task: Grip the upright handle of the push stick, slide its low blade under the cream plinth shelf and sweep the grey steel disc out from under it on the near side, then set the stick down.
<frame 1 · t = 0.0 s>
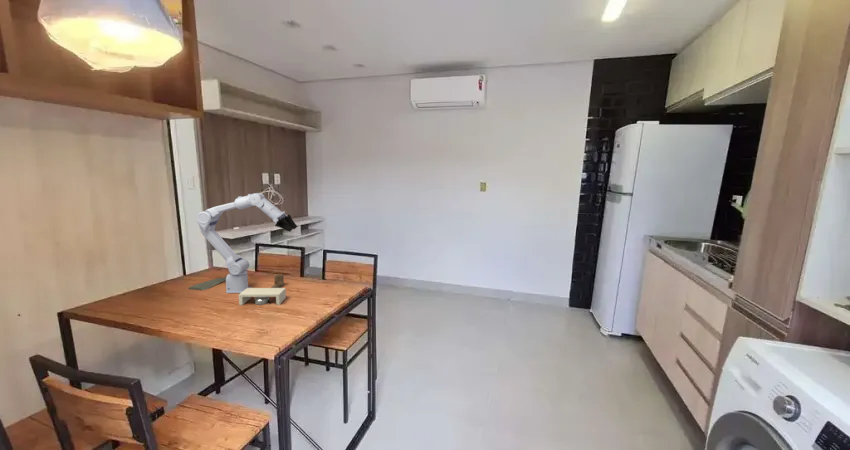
hand: (293, 229, 174), 32 cm above the table, tool tilted 50°, fingers open, 7 cm apart
plinth shelf: (263, 301, 164), on the table
stone slab: (212, 284, 188), on the table
steel token: (262, 302, 162), on the table
push stick: (279, 286, 185), on the table
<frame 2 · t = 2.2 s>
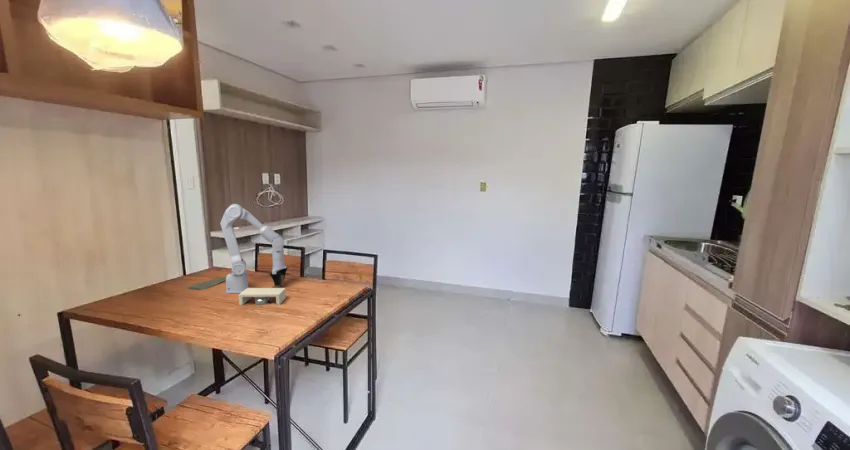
hand: (279, 283, 185), 2 cm above the table, tool pointing down, fingers open, 7 cm apart
push stick: (279, 286, 185), on the table, touching gripper
everything else where it was.
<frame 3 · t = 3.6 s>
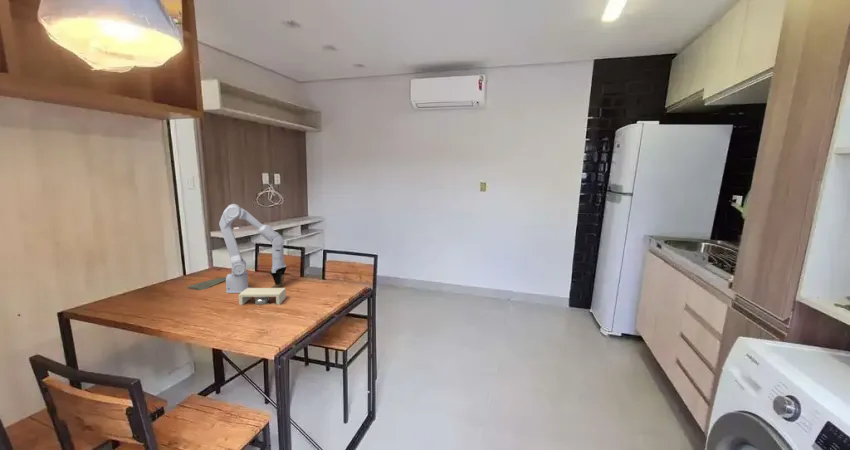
hand: (279, 282, 185), 2 cm above the table, tool pointing down, fingers open, 5 cm apart
nothing on the table moved.
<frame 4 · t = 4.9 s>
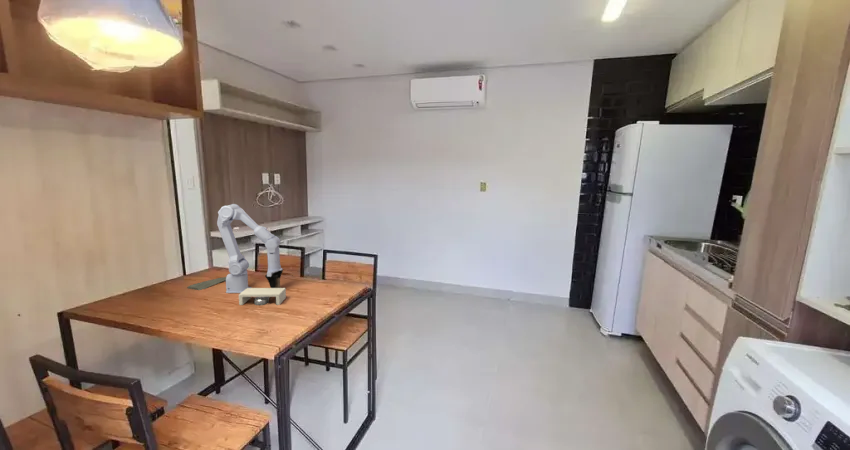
hand: (274, 285, 179), 2 cm above the table, tool pointing down, fingers open, 5 cm apart
steel token: (261, 303, 162), on the table, touching push stick
push stick: (275, 289, 180), on the table, touching gripper, steel token
everything else where it was.
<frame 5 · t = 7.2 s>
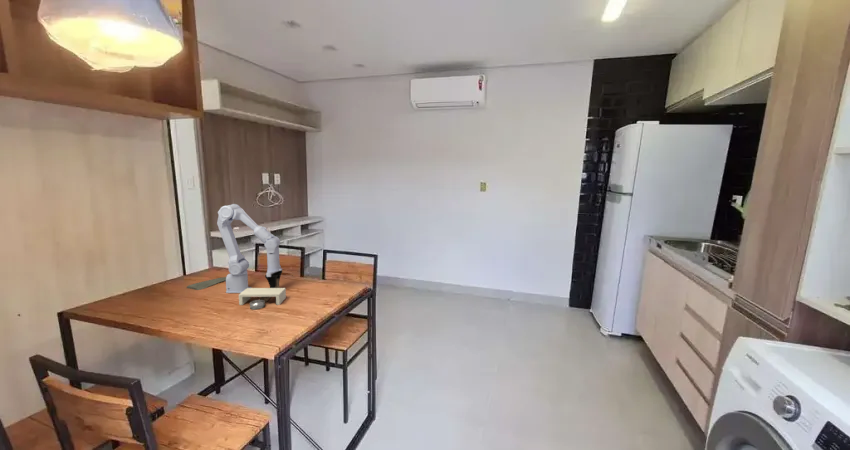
hand: (274, 286, 178), 2 cm above the table, tool pointing down, fingers open, 5 cm apart
steel token: (257, 307, 157), on the table
push stick: (274, 290, 178), on the table
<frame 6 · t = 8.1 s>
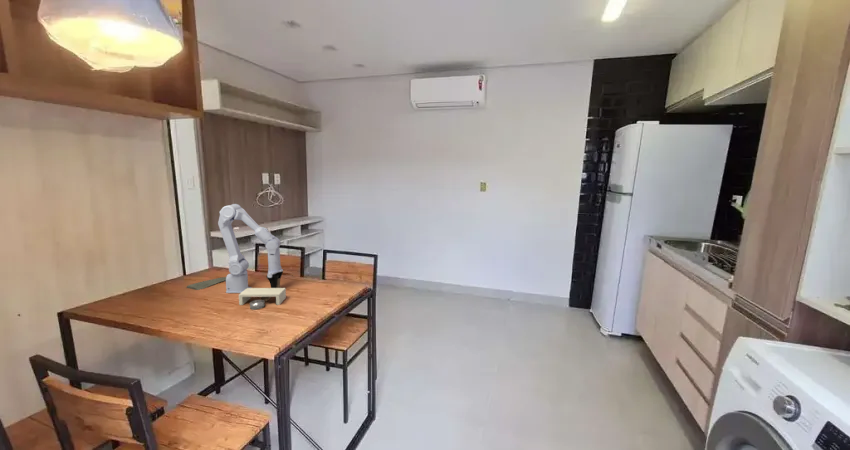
hand: (275, 287, 179), 2 cm above the table, tool pointing down, fingers open, 4 cm apart
push stick: (275, 290, 179), on the table, touching gripper
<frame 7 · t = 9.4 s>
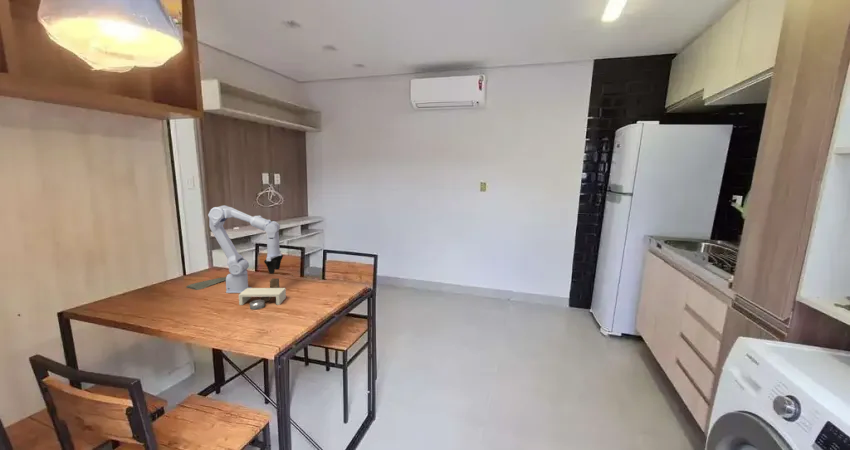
hand: (274, 271, 178), 10 cm above the table, tool pointing down, fingers open, 7 cm apart
push stick: (274, 290, 178), on the table
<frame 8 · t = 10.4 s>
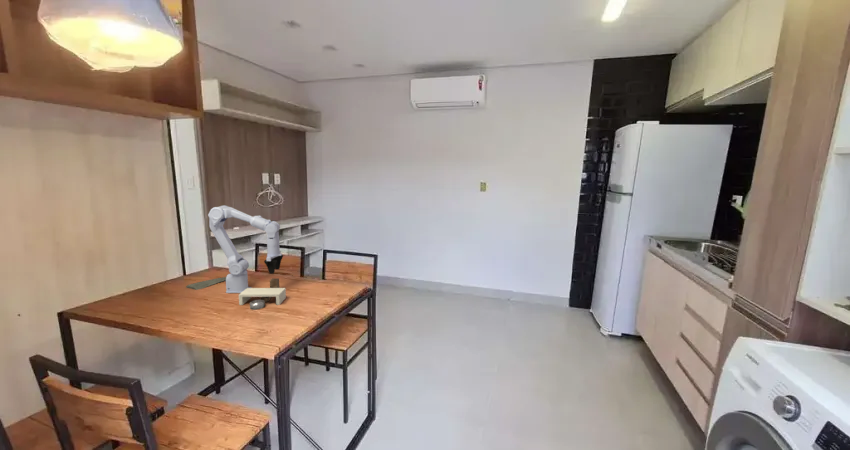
hand: (274, 271, 178), 10 cm above the table, tool pointing down, fingers open, 7 cm apart
at the end: steel token inside the target area (7.6 cm from its centre), on the table; push stick moved 7.1 cm from its start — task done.
